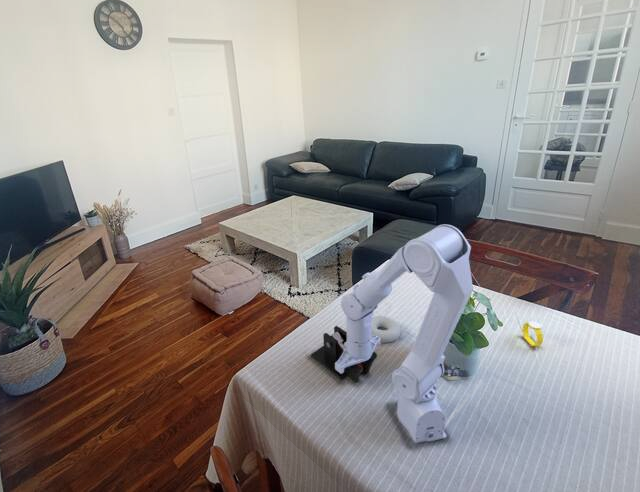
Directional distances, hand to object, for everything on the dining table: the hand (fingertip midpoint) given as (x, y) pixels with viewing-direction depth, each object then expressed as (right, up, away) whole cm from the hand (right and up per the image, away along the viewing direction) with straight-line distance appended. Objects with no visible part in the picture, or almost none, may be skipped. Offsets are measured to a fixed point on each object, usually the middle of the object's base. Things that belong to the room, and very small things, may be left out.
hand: (358, 378), depth 85 cm
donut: (+10, +7, +14) cm, 18 cm away
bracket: (-5, +2, +5) cm, 7 cm away
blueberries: (+23, +2, -1) cm, 23 cm away
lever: (-3, +5, +2) cm, 6 cm away
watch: (+48, +7, +6) cm, 48 cm away
